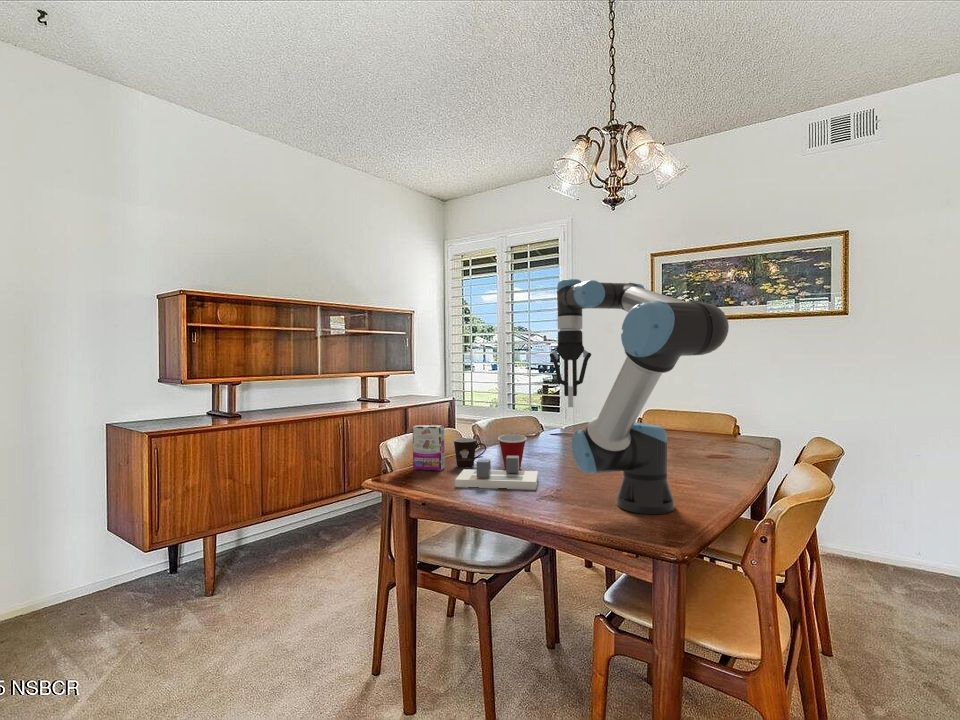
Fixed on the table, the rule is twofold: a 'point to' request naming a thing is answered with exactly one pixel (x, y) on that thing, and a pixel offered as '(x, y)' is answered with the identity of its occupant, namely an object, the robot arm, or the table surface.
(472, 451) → the coffee mug
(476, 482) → the switch panel
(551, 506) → the table surface
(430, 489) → the table surface
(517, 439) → the plastic cup
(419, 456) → the candy bar box
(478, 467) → the switch tab near
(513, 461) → the switch tab far
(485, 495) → the table surface
